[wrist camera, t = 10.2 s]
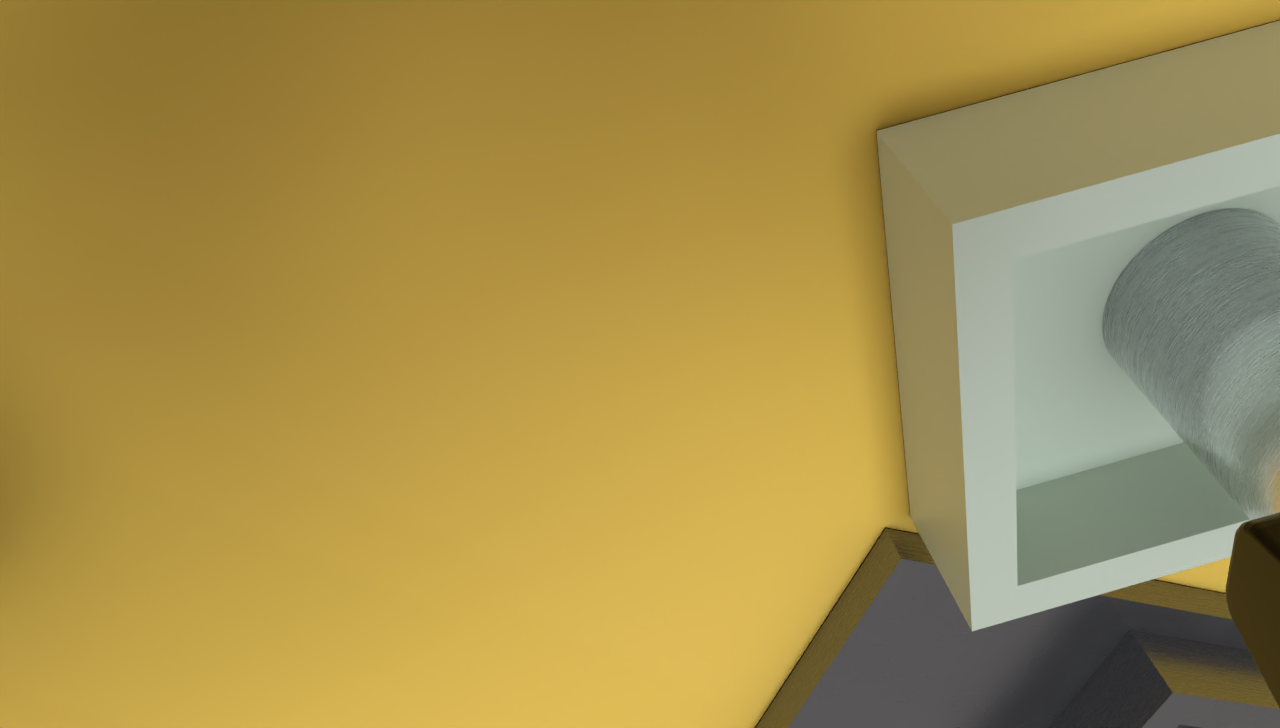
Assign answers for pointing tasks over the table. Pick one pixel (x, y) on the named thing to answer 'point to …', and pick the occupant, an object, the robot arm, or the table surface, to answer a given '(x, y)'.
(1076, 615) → the grey slab
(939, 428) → the tray
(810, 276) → the table surface
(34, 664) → the table surface
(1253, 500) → the pin
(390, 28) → the table surface
